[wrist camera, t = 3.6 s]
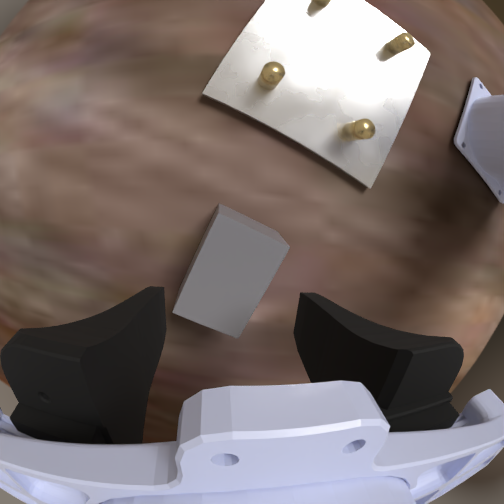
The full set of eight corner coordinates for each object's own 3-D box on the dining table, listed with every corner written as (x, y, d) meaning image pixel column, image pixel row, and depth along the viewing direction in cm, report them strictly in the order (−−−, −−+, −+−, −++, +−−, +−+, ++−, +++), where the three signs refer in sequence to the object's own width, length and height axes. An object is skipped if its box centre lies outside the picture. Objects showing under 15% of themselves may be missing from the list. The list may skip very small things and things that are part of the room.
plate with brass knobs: (423, 56, 15) (446, 47, 12) (363, 187, 18) (386, 192, 15) (293, -29, 13) (303, -51, 10) (203, 97, 15) (199, 84, 13)
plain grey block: (323, 211, 19) (351, 225, 15) (249, 340, 21) (256, 379, 17) (201, 149, 17) (194, 143, 13) (138, 294, 19) (120, 328, 15)
